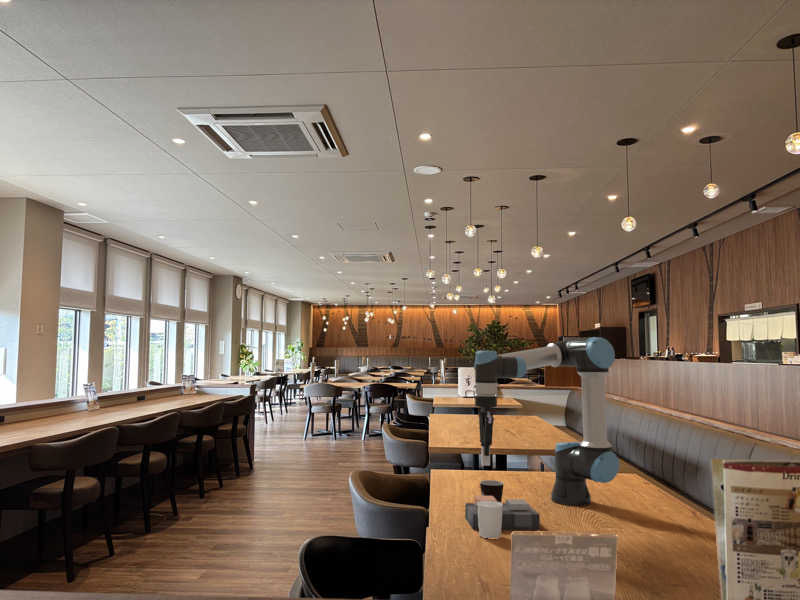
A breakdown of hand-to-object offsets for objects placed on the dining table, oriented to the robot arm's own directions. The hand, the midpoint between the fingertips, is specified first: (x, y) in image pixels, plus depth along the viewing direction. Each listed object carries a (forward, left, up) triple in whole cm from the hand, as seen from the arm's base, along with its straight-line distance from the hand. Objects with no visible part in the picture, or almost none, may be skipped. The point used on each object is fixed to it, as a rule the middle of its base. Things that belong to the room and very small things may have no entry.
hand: (485, 465), depth 191 cm
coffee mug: (-6, -18, -20) cm, 27 cm away
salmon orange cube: (0, 0, -17) cm, 17 cm away
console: (-5, 0, -19) cm, 20 cm away
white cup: (+2, +14, -20) cm, 24 cm away
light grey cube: (-11, 0, -18) cm, 21 cm away
